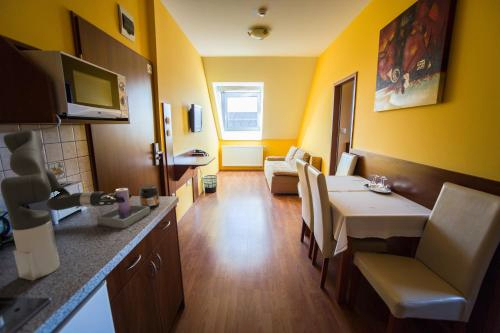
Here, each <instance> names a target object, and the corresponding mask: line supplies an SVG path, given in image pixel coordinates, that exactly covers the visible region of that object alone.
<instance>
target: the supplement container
mask: <svg viewBox="0 0 500 333" xmlns="http://www.w3.org/2000/svg"><path fill="white" fill-rule="evenodd" d="M139 191H140V192H139V193H138V194H139V200H140V201H139V202H140V206H147V207H150V209H153V208H157V207H158V206H159V205H160V194H159V193H160V192H159V190H158V185H156V184H146V185H143V186H140V187H139Z"/></svg>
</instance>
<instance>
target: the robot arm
mask: <svg viewBox="0 0 500 333" xmlns="http://www.w3.org/2000/svg"><path fill="white" fill-rule="evenodd" d="M3 143H4V145H5V146H6V148H7V149H8V151H9V152H10V153H11V155H10V158H9V167H10V169H11V171H12V172H14V173H15V175H17V176H10V177H5V178H3V179H2V180H1V181H0V192H1V196H2V199H3V201H4V202H3V203H4V205H5V208H6V212H7V215H8V220H9V223H10V228H11V231H12V235H13V239H14V244H15V250H14V251H13V256H14V260H15V264H16V268H17V272H18V276H19V279H25V280H28V281H32V282H33V281H35V280H37V279H40V278H43V277H45V276H47V275H49V274H52V273H53V272H55V271H56V270H57V269H58V268H59V267H60V265H61V263H60V258H59V252H58V247H57V243H56V237H55V233H54V228H53V223H52V222H53V221H52V218H51V213H50V212H49V211H48V210H43V209H39V210H38V209H30V208H28V207H27V208H26V207H24V206H27V205H32V204H36V203H37V204H39V203H42V202H45V201H46V202H45V203H46V204H45V205H46V207H47V208H48V209H49V210H51V211H63V210H67V209H73V208H75V207H78V208H79V207H90V208H92V207H93V208H94V207H95V208H96V207H104V206H113V205H114V204H116V205H117V203H124V202H125V198H117V199H116V194H115V192H116V191H114V192H112V193H108V194H107V193H106V192H105V191H103V190H102V191H86V192H74V193H72V194H71V192H69V190H67V189H66V188H65V187H64V186H63V185H61V183H60V182H59V180H58V178H57V177H56V175H55V174H54V173H53V171H51V170H50V169H48V168H47V167H46V162H45V157H44V154H43V149H44V148H43V147H44V145H43V144H44V143H43V139H42V137H41V135H39V133H38V132H36V131H35V130H31V129H26V130H21V131H15V132H12V133H8V134H5V135H4V136H3ZM55 191H58V192H60V193H59V194H57V195H56V196H54V197H52V196H51V195H52V193H53V192H55ZM51 197H52V198H51ZM129 197H130V199H131V198H132V194H131V193H129ZM49 198H51V199H49ZM48 199H49V200H48ZM47 200H48V201H47Z"/></svg>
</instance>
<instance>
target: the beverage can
mask: <svg viewBox="0 0 500 333" xmlns="http://www.w3.org/2000/svg"><path fill="white" fill-rule="evenodd" d="M114 192H115V194H116V199H117V198H125V202H124V203H116V205H117V208H118V214H119V217H120V218H121V219H124V218H127V217H129V216H131V215H132V211H131V205H132V204H131V198H130V197H129V194H130V191H129V188H128V187H119V188H116V189H115V191H114Z"/></svg>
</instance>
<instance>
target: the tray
mask: <svg viewBox="0 0 500 333" xmlns="http://www.w3.org/2000/svg"><path fill="white" fill-rule="evenodd" d="M131 211H132V215H131V216H129V217H127V218H124V219H121V218H120V217H119V214H118V207H117V208H114V209H112V210H110V211H107V212H106V213H103V214H101V215H99V216H96V221H97V225H99V226H105V227H111V228H118V229H126V228H128V227H130V226H131V225H133V224H135V223H136V222H138V221H140V220H142V219H143V218H145V217H147V216H149V215H150V214H151V208H150V207H147V206H141V205H137V204H131Z"/></svg>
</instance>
